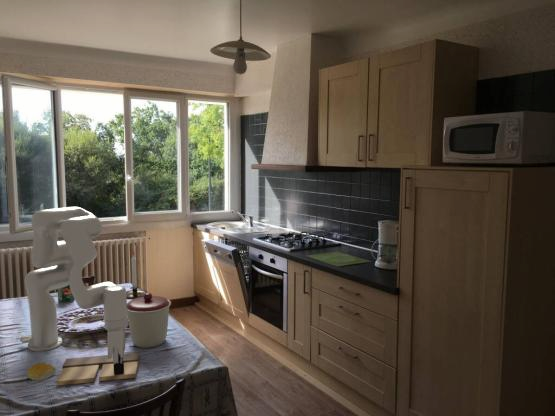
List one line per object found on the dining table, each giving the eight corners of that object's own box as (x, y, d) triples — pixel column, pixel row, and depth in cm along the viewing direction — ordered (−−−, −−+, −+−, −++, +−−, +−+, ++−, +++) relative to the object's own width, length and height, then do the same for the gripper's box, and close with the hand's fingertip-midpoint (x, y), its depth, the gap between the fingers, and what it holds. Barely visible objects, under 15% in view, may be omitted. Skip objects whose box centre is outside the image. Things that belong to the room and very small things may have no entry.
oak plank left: (56, 385, 157) (56, 381, 156) (63, 372, 166) (63, 368, 166) (94, 381, 159) (94, 377, 159) (99, 368, 169) (98, 364, 169)
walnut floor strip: (62, 371, 167) (62, 366, 167) (66, 363, 173) (66, 358, 173) (138, 364, 173) (137, 359, 172) (139, 357, 178) (139, 352, 178)
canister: (160, 354, 181) (159, 301, 178) (117, 350, 184) (115, 299, 182) (178, 335, 199) (177, 287, 196) (139, 332, 202) (137, 285, 199)
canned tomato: (63, 298, 247) (62, 277, 245) (77, 298, 246) (76, 278, 244) (54, 303, 239) (53, 282, 237) (69, 303, 238) (67, 283, 236)
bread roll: (44, 367, 170) (43, 357, 170) (59, 374, 166) (58, 363, 165) (22, 377, 163) (21, 366, 163) (36, 384, 159) (35, 373, 158)
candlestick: (125, 330, 204) (121, 252, 200) (122, 321, 214) (119, 247, 209) (150, 326, 209) (147, 249, 204) (146, 318, 219) (143, 245, 214)
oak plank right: (99, 381, 159) (98, 376, 159) (103, 368, 169) (103, 364, 169) (135, 377, 162) (135, 373, 162) (137, 365, 172) (137, 361, 171)
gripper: (107, 315, 166) (110, 364, 168) (101, 331, 152) (104, 385, 154) (129, 314, 168) (132, 362, 170) (125, 329, 153) (128, 382, 155)
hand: (119, 373), depth 162 cm, fingers closed
